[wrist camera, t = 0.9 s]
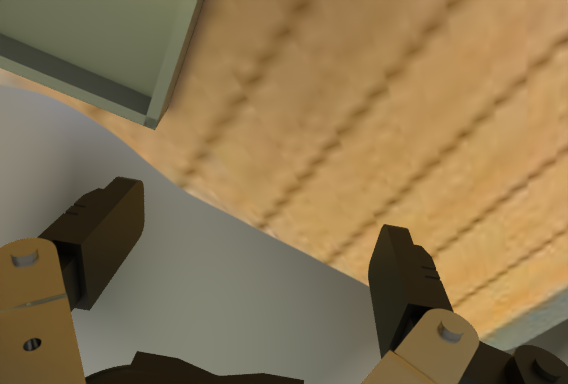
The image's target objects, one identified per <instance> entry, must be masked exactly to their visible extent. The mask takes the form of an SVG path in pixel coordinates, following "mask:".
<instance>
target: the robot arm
mask: <svg viewBox="0 0 568 384" xmlns="http://www.w3.org/2000/svg"><path fill="white" fill-rule="evenodd" d="M143 228H144V187H143V182H142V181H141V180H136V179H130V178H124V177H116V178H115V179H114V180H113V181H112V182H111V183H110V184H109V185H108V186H107V187H106V188H105V189H100V188H98V189H96V190H93V191H91V192H89V193H87V194H85V195H83V196H82V197H81V198H80V199H79V200H78V201H76V202H75V203H74V206H71V207H70V208H69V209H68V210H67V211H66V213H65V214H64V213H63V214H62V215H61V216H60V217H59V218H58V219H57V220H56V221H55V222H54V223H53V224H51V225H50V226H49V227H48V228H47V229H46V230H45V231H44V232H43V233H42V234H41V235H40V236H38V237H37V238H27V239H20V240H17V241H14V242H11V243H8V244H6V245H4V246H3V247H1V248H0V384H304V380H300V379H294V378H288V377H282V376H277V375H271V374H265V373H258V374H243V375H228V376H218V375H214V374H212V373H210V372H208V371H205V370H203V369H201V368H199V367H196V366H194V365H192V364H189V363H187V362H185V361H183V360H181V359H178V358H173V357H167V356H162V355H156V354H150V353H144V352H139V351H137V353H136V354H135V357H134V359H133V361H132V363H131V365H123V366H117V367H112V368H109V369H105V370H102V371H99V372H97V373H94V374H91V375H89V376H87V377H85V376H84V372H83V367H82V362H81V357H80V353H79V348H78V343H77V339H76V334H75V329H74V325H73V320H72V315H71V311H72V310H73V309H74V308H78V309H84V310H90V309H91V308H92V306H93V305H94V303H95V302H96V300H97V299H98V298H99V296H100V295H101V293H102V291H103V290H104V289H105V287H106V286H107V285H108V283H109V282H110V280H111V279H112V277H113V276H114V274H115V273H116V272H117V270H118V268H119V267H120V266H121V264H122V263H123V261H124V260H125V259H126V257H127V256H128V254H129V253H130V251H131V250H132V248H133V247H134V246H135V244H136V243H137V241H138V240H139V238H140V236H141V234H142V231H143ZM368 280H369V286H370V292H371V298H372V304H373V311H374V317H375V323H376V329H377V335H378V341H379V348H380V353H381V360H380V362H379V363H378V364H377V365H376V366H375V368H374V369H373V370H372V371H371V372H370V374H369V375H368V376H367V377H366V379H365V380H364V381H363V382H362V383H361V384H568V366H567V365H566V364H565V363H564V362H563V361H561V360H560V359H559V358H557V357H556V356H555V355H553V354H552V353H550V352H548V351H546V350H544V349H542V348H539V347H536V346H532V345H522V346H519V347H518V348H517V349H516V350H515V351H514V353H513V354H512V355H511V354H508V353H506V352H504V351H501V350H499V349H497V348H494V347H492V346H489V345H487V344H485V343H483V342H481V341H479V337H478V334H477V332H476V331H475V329H474V328H473V326H472V325H471V324H470V323H469V322H468V321H467V320H465V319H464V318H463V317H461V316H460V315H458V314H456V313H454V312H453V309H452V307H451V304H450V302H449V299H448V297H447V294H446V292H445V289H444V287H443V284H442V282H441V281H440V277H439V274H438V272H437V271H436V267H435V264H434V262H433V259H432V257H431V256H430V255H429V254H428V253H427V252H426V251H425V249H424V248H423V247H422V246H419V245H414V244H413V241H412V238H411V236H410V233H409V230H408V229H407V228H403V227H398V226H392V225H386V224H384V225H383V227H382V228H381V231H380V234H379V237H378V240H377V243H376V245H375V248H374V251H373V254H372V257H371V260H370V264H369V270H368Z"/></svg>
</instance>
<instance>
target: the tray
mask: <svg viewBox="0 0 568 384" xmlns="http://www.w3.org/2000/svg"><path fill="white" fill-rule="evenodd" d="M203 1H204V0H0V68H2V69H5V70H7V71H9V72H12V73H14V74H17V75H19V76H22V77H24V78H27V79H29V80H32V81H34V82H37V83H39V84H42V85H44V86H47V87H49V88H52V89H54V90H57V91H59V92H61V93H64V94H66V95H69V96H71V97H74V98H76V99H79V100H81V101H84V102H86V103H89V104H91V105H94V106H96V107H99V108H101V109H104V110H106V111H109V112H111V113H114V114H116V115H118V116H121V117H123V118H126V119H128V120H131V121H133V122H136V123H138V124H141V125H143V126H146V127H148V128H151V129H153V130H155V129H156V127H157V125H158V124H159V122H160V120H161V119H162V117H163V115H164V114H165V112H166V110H167V108H168V105H169V102H170V99H171V96H172V93H173V90H174V87H175V84H176V81H177V78H178V75H179V72H180V69H181V67H182V64H183V61H184V58H185V55H186V52H187V49H188V46H189V43H190V40H191V37H192V34H193V31H194V28H195V25H196V22H197V19H198V16H199V13H200V10H201V7H202V4H203Z"/></svg>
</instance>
